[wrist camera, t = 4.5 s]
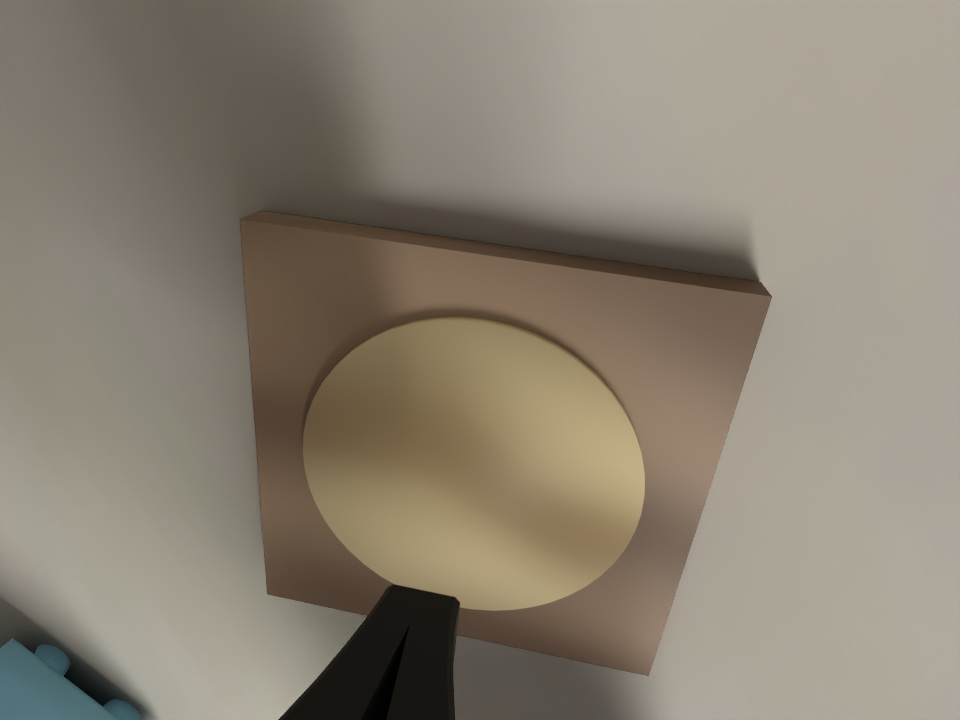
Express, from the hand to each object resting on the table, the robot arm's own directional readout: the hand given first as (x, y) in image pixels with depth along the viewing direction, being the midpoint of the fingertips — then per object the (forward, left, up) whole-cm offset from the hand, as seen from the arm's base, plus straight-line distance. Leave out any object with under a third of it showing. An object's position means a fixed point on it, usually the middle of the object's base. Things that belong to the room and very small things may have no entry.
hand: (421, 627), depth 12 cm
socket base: (0, 0, -6) cm, 6 cm away
